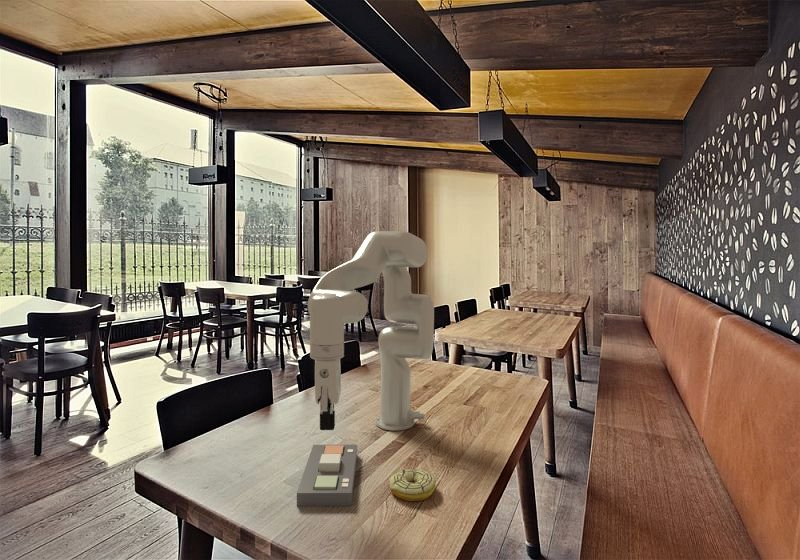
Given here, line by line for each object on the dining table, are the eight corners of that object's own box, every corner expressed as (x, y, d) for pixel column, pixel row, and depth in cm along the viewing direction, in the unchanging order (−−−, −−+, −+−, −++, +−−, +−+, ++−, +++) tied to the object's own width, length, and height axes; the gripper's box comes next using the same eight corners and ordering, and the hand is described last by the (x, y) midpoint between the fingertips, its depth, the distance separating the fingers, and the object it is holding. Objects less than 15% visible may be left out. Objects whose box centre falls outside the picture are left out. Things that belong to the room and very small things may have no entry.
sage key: (337, 487, 106) (337, 475, 106) (335, 499, 101) (335, 486, 101) (317, 488, 106) (317, 475, 106) (314, 499, 101) (314, 486, 101)
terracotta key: (343, 456, 122) (343, 445, 122) (342, 464, 117) (342, 453, 117) (325, 456, 122) (325, 445, 122) (323, 464, 117) (323, 453, 117)
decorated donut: (398, 477, 113) (398, 462, 113) (439, 484, 110) (440, 469, 110) (383, 498, 103) (383, 483, 103) (428, 508, 100) (428, 491, 100)
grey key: (340, 465, 114) (341, 453, 114) (339, 475, 109) (339, 463, 109) (321, 465, 114) (321, 453, 114) (319, 475, 109) (319, 463, 109)
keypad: (357, 455, 124) (357, 443, 124) (351, 505, 100) (351, 491, 100) (313, 455, 123) (313, 443, 123) (296, 506, 100) (296, 492, 99)
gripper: (340, 358, 94) (340, 443, 96) (346, 342, 109) (346, 415, 110) (304, 358, 94) (305, 443, 95) (315, 342, 108) (315, 415, 110)
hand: (327, 428), depth 103 cm, fingers closed
